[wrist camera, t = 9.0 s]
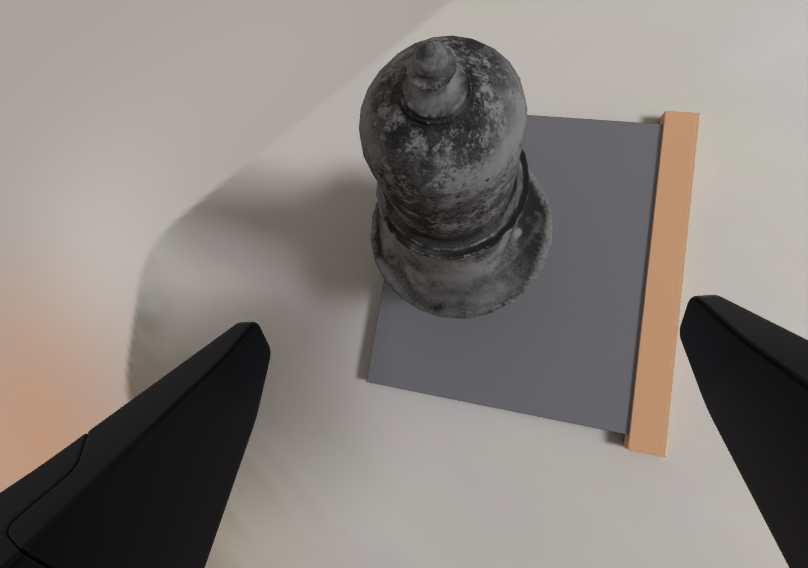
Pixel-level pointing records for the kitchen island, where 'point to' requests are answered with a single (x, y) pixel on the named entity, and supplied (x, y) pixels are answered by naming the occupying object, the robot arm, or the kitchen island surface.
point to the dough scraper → (574, 290)
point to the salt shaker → (453, 179)
